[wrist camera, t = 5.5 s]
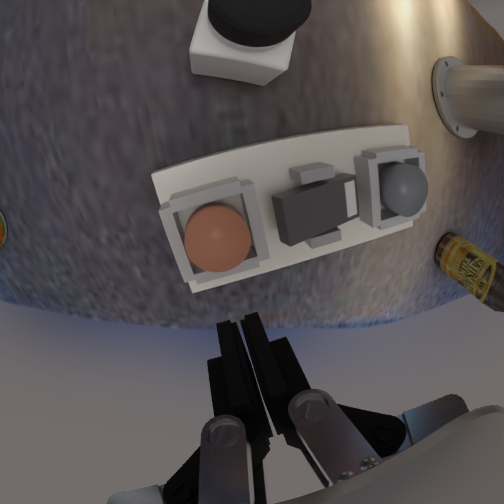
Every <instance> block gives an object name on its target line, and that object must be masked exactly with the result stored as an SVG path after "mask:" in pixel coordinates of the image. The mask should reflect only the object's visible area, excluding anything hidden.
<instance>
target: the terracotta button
mask: <svg viewBox="0 0 504 504" xmlns="http://www.w3.org/2000/svg"><path fill="white" fill-rule="evenodd" d="M184 244H185V250H186V253H187V255H188V257H189V259H190V260H191V261H192V262H193V263H194V264H195V265H196V266H197V267H199V268H201V269H203V270H205V271H209V272H225V271H228V270H231V269H233V268H235V267H236V266H238V265H239V264H240V263H241V262H242V261H243V260H244V259H245V258H246V256H247V254H248V252H249V250H250V246H251V235H250V231H249V229H248V226H247V225H246V223H245V221H244V219H243V217H242V215H241V214H240V213H239V212H238V210H236V209H235V208H234V207H232V206H231V205H228V204H226V203H221V202H211V203H207V204H204V205H202V206H200V207H199V208H197V209H196V210H195V211H194V212H193V213H192V214H191V216H190V217H189V219H188V222H187V225H186V232H185V240H184Z"/></svg>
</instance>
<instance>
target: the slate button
mask: <svg viewBox="0 0 504 504" xmlns="http://www.w3.org/2000/svg"><path fill="white" fill-rule="evenodd" d="M378 178H379V191H380V203H381V204H382V205H383V206H384V207H385V208H387V209H389V210H391V211H393V212H395V213H397V214H399V215H401V216H404V217H411V216H413V215H415V214H417V213H418V212H419V211H420V210H421V208H422V207H423V205H424V203H425V201H426V198H427V192H428V184H427V179H426V176H425V174H424V172H423V171H422V170H421V169H420V168H419V167H417V166H414V165H410V164H406V163H401V162H396V161H395V162H390V163H388V164H387V165H385V166H384V167H383V168H382V170H381V171H380V173H379V175H378Z"/></svg>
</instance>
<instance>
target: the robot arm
mask: <svg viewBox="0 0 504 504" xmlns="http://www.w3.org/2000/svg"><path fill="white" fill-rule="evenodd" d="M432 82H433V93H434V98H435V102H436V105H437V108H438V111H439V114H440V116H441V118H442V120H443V122H444V123H445V125H446V127H447V128H448V129H449V130H450V131H451V132H452V133H453V134H454V135H456V136H458V137H460V138H471V137H473V136H474V135H475V134H476V133H477V131H478V130H479V131H485V132H490V133H495V134H500V135H504V65H467V66H466V65H465V64H464V63H463V62H462V61H460V60H459V59H457V58H455V57H450V56H449V57H443V58H441V59H439V60H438V61H437V63H436V65H435V67H434V71H433V79H432ZM240 322H241V326H242V329H243V333H244V336H245V340H246V343H247V347H248V350H249V354H250V357H251V360H252V364H253V367H254V371H255V374H256V377H257V381H258V384H259V387H260V391H261V394H262V396H263V400H264V402H265V405H266V407H267V410H268V412H269V415H270V417H271V420H272V422H273V425H274V427H275V429H276V432H277V434H278V435H280V434H284V437H285V440H286V442H287V444H288V445H290V446H293V447H295V448H298V449H299V451H300V452H301V454H302V455H303V457H304V459H305V460H306V462H307V464H308V465H309V467H310V468H311V470H312V471H313V473H314V475H315V476H316V478H317V479H318V481H319V482H320V484H321V485H322V487H323V488H324V489H322V490H319V491H316V492H313V493H310V494H307V495H304V496H301V497H298V498H294V499H291V500H287V501H283V502H280V503H276V504H504V407H501V406H498V405H489V406H483V407H480V408H477V409H474V410H472V411H469V410H468V408H467V406H466V403H465V401H464V400H463V399H462V397H460V396H458V395H456V394H449V395H445V396H443V397H441V398H438V399H436V400H434V401H431V402H429V403H426V404H423V405H421V406H418V407H416V408H413V409H410V410H407V411H404V412H403V414H401V415H398V416H392V415H385V414H381V413H376V412H371V411H366V410H361V409H357V408H352V407H348V406H344V405H340V404H337V403H336V402H335V401H334V400H333V398H332V397H331V396H330V395H329V394H328V393H326V392H325V391H322V390H318V389H311V387H310V385H309V383H308V381H307V379H306V377H305V375H304V373H303V371H302V369H301V367H300V364H299V363H298V360H297V358H296V356H295V354H294V352H293V350H292V348H291V345H290V343H289V341H288V339H287V338H286V337H283V338H281V339H277V340H274V341H271V342H269V341H268V338H267V335H266V333H265V330H264V327H263V325H262V322H261V320H260V317H259V314H258V312H254V313H251V314H248V315H245V319H244V320H241V321H240ZM216 325H217V332H218V337H219V344H220V349H221V355H222V356H221V357H217V358H213V359H210V360H208V361H207V364H208V373H209V381H210V388H211V396H212V403H213V410H214V418H212V419H210V420H209V421H208V422H207V423H206V424H205V426H204V427H203V429H202V433H201V445H200V447H199V448H198V449H197V450H196V451H195V452H194V453H193V455H192V456H191V457H190V458H189V459H188V460H187V461H186V463H184V464H183V466H182V467H181V468H180V469H179V470H178V471H177V472H176V473H175V474H174V475H173V476H172V477H171V479H169V480H168V481H167V483H166V484H164V485H161V486H158V485H153V486H150V487H145V488H141V489H136V490H131V491H126V492H121V493H116V494H113V495H112V496H111V497H110V498H109V499H108V502H107V504H270V503H269V493H268V484H267V475H266V464H265V456H266V455H267V453H268V452H269V451H270V447H269V445H270V442H269V439H268V438H270V437H273V434H272V430H271V427H270V424H269V421H268V417H267V414H266V411H265V408H264V405H263V401H262V398H261V395H260V391H259V388H258V385H257V382H256V378H255V375H254V372H253V368H252V365H251V362H250V360H249V357H248V354H247V352H246V349H245V346H244V343H243V340H242V337H241V335H240V332H239V329H238V326H237V323H236V322H234V323H231V322H230V320H228V321H224V322H221V323H217V324H216Z"/></svg>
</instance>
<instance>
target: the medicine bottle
mask: <svg viewBox="0 0 504 504" xmlns="http://www.w3.org/2000/svg"><path fill="white" fill-rule="evenodd" d="M310 12H311V0H204V3H203V6H202V9H201V12H200V15H199V18H198V21H197V24H196V28H195V31H194V34H193V38H192V41H191V45H190V48H189V53H190V63H191V72H192V73H193V74H198V75H205V76H212V77H219V78H225V79H231V80H236V81H242V82H247V83H251V84H256V85H260V86H265V85H267V84H268V83H270V82H271V81H272V80H274V79H275V78H277V77H278V76H279V75H281V74H282V73H284V72H285V71H287V69H288V66H289V62H290V57H291V52H292V48H293V43H294V38H295V33H296V30H297V29H298V28H299V27H300V26H301V25H302V24H303V23H304V22H305V21H306V20H307V18H308V17H309V15H310Z"/></svg>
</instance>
